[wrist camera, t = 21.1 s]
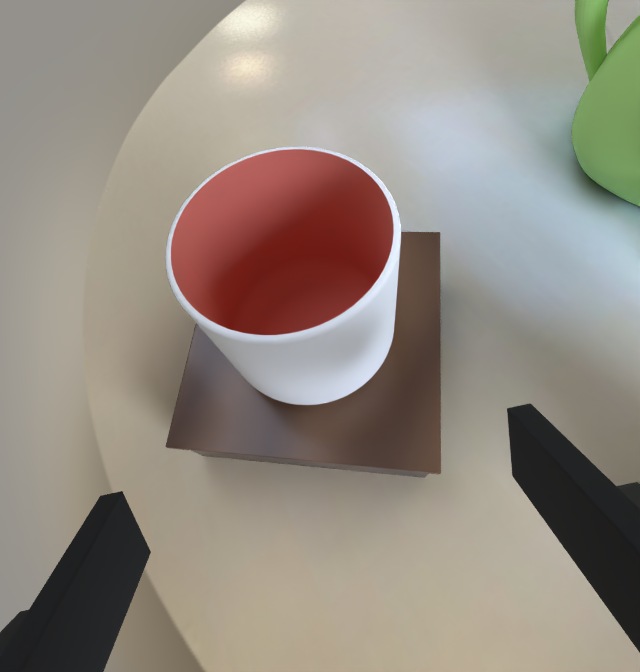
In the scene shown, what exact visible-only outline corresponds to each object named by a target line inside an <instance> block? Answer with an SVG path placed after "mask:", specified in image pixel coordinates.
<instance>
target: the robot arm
mask: <svg viewBox="0 0 640 672" xmlns="http://www.w3.org/2000/svg"><path fill="white" fill-rule="evenodd" d="M507 412H508V424H509V437H510V450H511V462H512V475H513V477H514V479H515V480H516V482H517V483H518V484H519V486H520V487H521V488H522V490H523V491H524V493H525V494H526V495H527V497H528V498H529V500H530V501H531V502H532V504H533V505H534V506H535V508H536V509H537V511H538V512H539V513H540V515H541V516H542V518H543V519H544V520H545V522H546V523H547V525H548V526H549V527H550V529H551V530H552V531H553V533H554V534H555V536H556V537H557V538H558V540H559V541H560V543H561V544H562V545H563V547H564V548H565V549H566V551H567V552H568V554H569V555H570V556H571V558H572V559H573V561H574V562H575V563H576V565H577V566H578V568H579V569H580V570H581V572H582V573H583V574H584V576H585V577H586V579H587V580H588V581H589V583H590V584H591V586H592V587H593V588H594V590H595V591H596V592H597V594H598V595H599V597H600V598H601V599H602V601H603V602H604V604H605V605H606V606H607V608H608V609H609V611H610V612H611V613H612V615H613V616H614V617H615V619H616V620H617V622H618V623H619V624H620V626H621V627H622V629H623V630H624V631H625V633H626V634H627V635H628V637H629V638H630V640H631V641H632V642H633V644H634V645H635V647H636V648H637V649H638V651H639V652H640V484H639V483H637V482H635V483H631V484H626V485H621V486H615V485H614V484H613V483H612V482H611V481H610V480H609V479H608V478H607V477H606V476H605V475H604V474H603V473H602V472H601V471H600V470H599V469H598V468H597V467H596V466H595V465H594V464H593V463H592V462H590V461H589V460H588V459H587V458H586V457H585V456H584V455H583V454H582V453H581V452H580V451H579V450H578V449H577V448H576V447H575V446H574V445H573V444H572V443H571V442H570V441H569V440H568V439H567V438H566V437H565V436H564V435H563V434H562V433H560V432H559V431H558V430H557V429H556V428H555V427H554V426H553V425H552V424H551V423H550V422H549V421H548V420H547V419H546V418H545V417H544V416H543V415H542V414H541V413H540V412H539V411H538V410H537V409H536V408H535V407H534V406H533V405H531V404H526V405H521V406H516V407H512V408H507ZM150 553H151V552H150V549H149V547H148V545H147V543H146V541H145V539H144V537H143V535H142V532H141V530H140V528H139V526H138V524H137V522H136V520H135V517H134V515H133V513H132V511H131V509H130V507H129V505H128V503H127V500H126V498H125V496H124V494H123V492H122V491H121V492H117V493H112V494H107V495H103V496H100V497H99V499H98V501H97V502H96V504H95V506H94V507H93V509H92V510H91V512H90V513H89V515H88V517H87V518H86V520H85V521H84V523H83V525H82V526H81V528H80V529H79V531H78V533H77V534H76V536H75V537H74V539H73V541H72V542H71V544H70V545H69V547H68V549H67V550H66V552H65V553H64V555H63V557H62V558H61V560H60V562H59V563H58V565H57V566H56V568H55V569H54V571H53V572H52V574H51V576H50V577H49V579H48V580H47V582H46V584H45V585H44V587H43V588H42V590H41V592H40V593H39V595H38V596H37V598H36V600H35V601H34V603H33V605H32V606H31V608H30V609H29V610H26V611H21V612H19V613H18V614H17V616H16V617H15V618H14V619H13V620H12V621H11V622H10V623H9V624H8V625H7V626H6V627H5V628H4V629H3V630H2V631H1V632H0V672H103V671H104V669H105V666H106V663H107V661H108V659H109V656H110V653H111V651H112V649H113V646H114V643H115V641H116V638H117V636H118V633H119V631H120V628H121V626H122V623H123V621H124V618H125V616H126V613H127V611H128V608H129V606H130V603H131V601H132V598H133V596H134V593H135V591H136V588H137V586H138V583H139V581H140V578H141V575H142V573H143V570H144V568H145V565H146V563H147V560H148V558H149V555H150Z"/></svg>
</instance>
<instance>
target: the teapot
mask: <svg viewBox="0 0 640 672" xmlns="http://www.w3.org/2000/svg"><path fill="white" fill-rule="evenodd" d="M608 1H609V0H575V23H576V29H577V34H578V38H579V43H580V47H581V52H582V56H583V60H584V63H585V67H586V70H587V74H588V78H589V84H588V86H587V87H586V89H585V91H584V93H583V95H582V97H581V99H580V101H579V104H578V107H577V110H576V112H575V116H574V120H573V125H572V143H573V147H574V150H575V153H576V156H577V159H578V161H579V163H580V166H581V167H582V169H583V170H584V172H585V173H586V174H587V175H588V176H589V177H590V178H591V179H592V180H594V181H595V182H596V183H598V184H599V185H600V186H602V187H604V188H605V189H607V190H608V191H610V192H612V193H613V194H615V195H617V196H619V197H621V198H623V199H624V200H626V201H629V202H631V203H633V204H635V205H637V206H639V207H640V15H639V16H638V17H637V18H636V19H635V20H634V21H633V22H632V24H631V25H630V26H629V27H628V28H627V29H626V31H625V32H624V33H623V34H622V35H621V37H620V38H619V39H618V40H617V41H616V43H615V44H614V46H613V47H612V48H611V50H610V51H609V53H608V54H607V53H606V38H605V21H606V12H607V5H608Z"/></svg>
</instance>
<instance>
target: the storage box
mask: <svg viewBox="0 0 640 672" xmlns="http://www.w3.org/2000/svg"><path fill="white" fill-rule="evenodd" d="M166 447H167V448H172V449H183V450H191V451H193V452H196V453H198V454H200V455H202V456H211V457H221V458H231V459H241V460H251V461H261V462H271V463H282V464H292V465H302V466H312V467H322V468H332V469H343V470H353V471H363V472H373V473H383V474H393V475H403V476H414V477H424V478H425V477H426V476H427V475H428V474H429V473H431V474H440V473H441V402H440V232H401V244H400V257H399V271H398V285H397V298H396V311H395V324H394V334H393V339H392V343H391V346H390V349H389V352H388V354H387V356H386V358H385V360H384V362H383V363H382V365H381V366H380V368H379V369H378V371H377V372H376V373H375V374H374V375H373V376H372V378H371V379H369V380H368V381H367V382H366V383H365V384H364V385H363V386H361V387H360V388H359V389H357V390H356V391H354V392H352V393H351V394H349V395H347V396H345V397H343V398H340V399H338V400H335V401H331V402H328V403H323V404H317V405H295V404H289V403H285V402H281V401H278V400H275V399H273V398H271V397H269V396H267V395H265V394H263V393H261V392H260V391H258V390H257V389H256V388H254V387H253V386H252V385H251V384H250V383H249V382H247V380H246V379H245V378H244V377H243V376H242V375H241V374H240V372H239V371H238V370H237V369H236V368H235V367H234V366H233V364H232V363H231V362H230V361H229V360H228V359H227V358H226V356H225V355H224V354H223V353H222V352H221V351H220V350H219V348H218V347H217V346H216V345H215V344H214V343H213V342H212V340H211V339H210V338H209V337H208V336H207V335H206V333H205V332H204V331H203V330H202V329H201V328H200V327H199V325H198V324H197V323H196V326H195V330H194V334H193V338H192V342H191V346H190V350H189V354H188V358H187V362H186V366H185V370H184V374H183V378H182V383H181V387H180V391H179V395H178V399H177V403H176V407H175V411H174V415H173V419H172V423H171V427H170V431H169V435H168V439H167V443H166Z"/></svg>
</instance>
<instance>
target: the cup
mask: <svg viewBox="0 0 640 672" xmlns="http://www.w3.org/2000/svg"><path fill="white" fill-rule="evenodd" d="M400 244H401V224H400V218H399V213H398V210H397V207H396V204H395V202H394V199H393V197H392V196H391V194H390V192H389V190H388V189H387V188H386V186H385V185H384V183H383V182H382V181H381V180H380V179H379V178H378V177H377V176H376V175H375V174H374V173H373V172H372V171H371V170H369V169H368V168H367V167H366V166H364V165H362V164H361V163H359V162H358V161H356V160H354V159H352V158H350V157H348V156H345V155H343V154H340V153H337V152H334V151H330V150H327V149H321V148H315V147H303V146H297V147H281V148H274V149H269V150H264V151H260V152H257V153H254V154H250V155H248V156H245V157H243V158H240V159H238V160H236V161H234V162H232V163H230V164H228V165H226V166H225V167H223V168H221V169H220V170H218V171H217V172H215V173H214V174H212V175H211V176H210V177H208V178H207V179H206V180H205V181H204V182H203V183H201V184H200V185H199V186H198V187H197V188H196V189H195V190H194V191H193V192H192V193H191V195H190V196H189V197H188V198H187V200H186V201H185V202H184V204H183V205H182V207H181V208H180V210H179V212H178V213H177V215H176V217H175V219H174V221H173V224H172V226H171V229H170V232H169V236H168V240H167V246H166V271H167V275H168V280H169V283H170V286H171V288H172V290H173V293H174V295H175V297H176V298H177V300H178V301H179V303H180V304H181V306H182V307H183V308H184V310H185V311H186V312H187V313H188V314H189V315H190V316H191V317H192V319H193V320H194V321H195V322H196V323H197V324H198V325H199V327H200V328H201V329H202V330H203V331H204V332H205V333H206V335H207V336H208V337H209V338H210V339H211V340H212V342H213V343H214V344H215V345H216V346H217V347H218V348H219V350H220V351H221V352H222V353H223V354H224V355H225V356H226V358H227V359H228V360H229V361H230V362H231V363H232V364H233V366H234V367H235V368H236V369H237V370H238V371H239V372H240V374H241V375H242V376H243V377H244V378H245V379H246V380H247V382H249V383H250V384H251V385H252V386H253V387H254V388H256V389H257V390H258V391H260V392H261V393H263V394H265V395H267V396H269V397H271V398H273V399H275V400H278V401H281V402H285V403H289V404H295V405H317V404H323V403H328V402H331V401H335V400H338V399H340V398H343V397H345V396H347V395H349V394H351V393H352V392H354V391H356V390H357V389H359V388H360V387H361V386H363V385H364V384H365V383H366V382H367V381H368V380H369V379H371V378H372V376H373V375H374V374H375V373H376V372H377V371H378V369H379V368H380V366H381V365H382V363H383V362H384V360H385V358H386V356H387V354H388V352H389V349H390V346H391V343H392V339H393V334H394V324H395V311H396V298H397V285H398V271H399V257H400Z"/></svg>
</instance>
